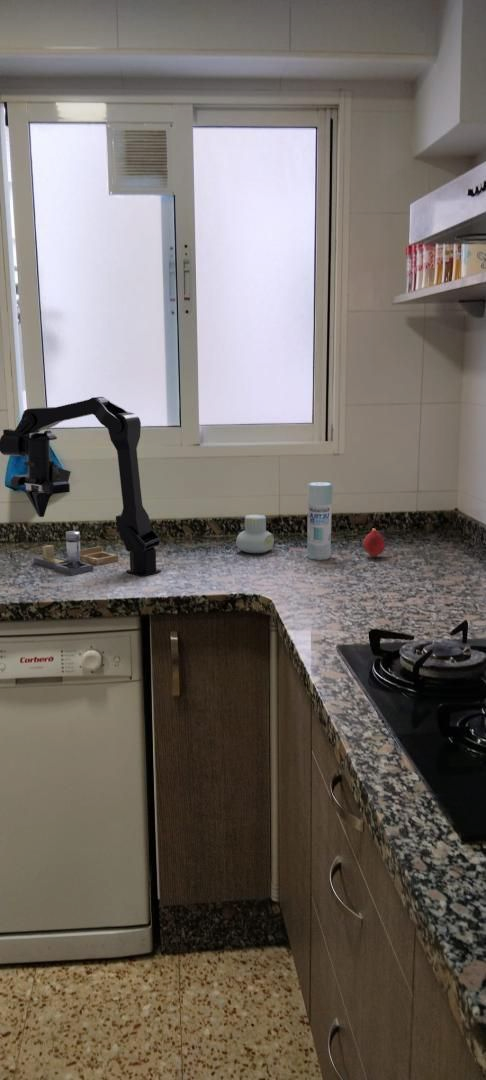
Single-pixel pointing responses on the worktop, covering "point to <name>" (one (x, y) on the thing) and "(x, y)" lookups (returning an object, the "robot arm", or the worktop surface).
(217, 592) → the worktop surface
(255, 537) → the air freshener
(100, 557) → the wooden tray
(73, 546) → the salt shaker
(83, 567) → the socket block
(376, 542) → the onion
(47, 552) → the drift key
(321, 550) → the spray paint can
